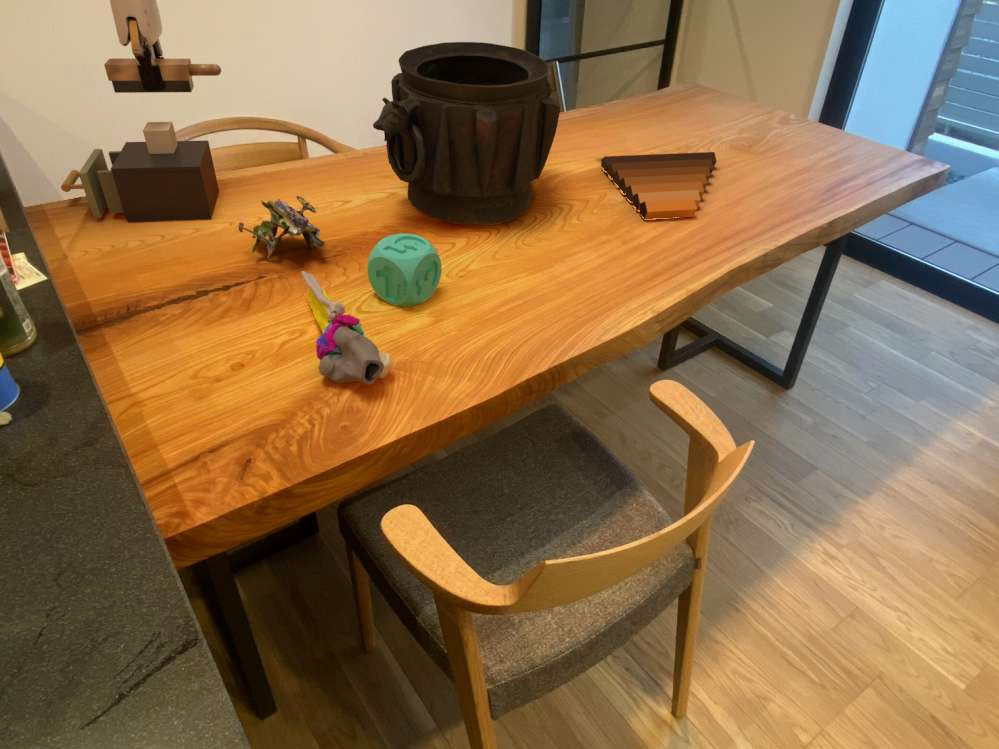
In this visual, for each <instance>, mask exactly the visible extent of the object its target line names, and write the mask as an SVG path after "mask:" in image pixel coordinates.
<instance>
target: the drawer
mask: <svg viewBox="0 0 999 749" xmlns="http://www.w3.org/2000/svg"><path fill="white" fill-rule="evenodd" d="M120 152H121V150H114V151H109V152H108V156H109V160H110V163H111V167H112V166H113V164H114V162H115V160H116V159H117V157H118V155H119V153H120ZM78 179H79V180H80V182H81V183H78V184H77V181H78ZM60 189H61V190H62V192H65V193H69V192H71V191H72V190H83V191H84V194H85V197H86V200H87V203H88V206H89V209H90V211H91V214H92V218H102V216H103V215H104V213H105V211H106V209H107V208H108V211H109V213H110V214H125V213H124V209H123V206H122V203H121V200H120V197H119V193H118V190H117V187H116V184H115V181H114V178H113V174H112V171H111V169H109V167H108V164H107V161H106V157H105V155H104V152H103V149H102V148H94V149H93V150H92V152H91V153H90V155H89V156H88V158H87V159H86V162H84V164H83V165H82V167H81V169H79V171H78V170H76V169H72V170H70V172H69V174H68V175H67V176H66V178H65V180H64V181H63V182H62V184H61V185H60Z"/></svg>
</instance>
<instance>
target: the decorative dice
mask: <svg viewBox="0 0 999 749" xmlns="http://www.w3.org/2000/svg"><path fill="white" fill-rule="evenodd" d="M442 267H443V266H442V260H441V257H440V255H439V253H438V251H437V249H436V248H435V246H434V245H433V244H432V243H431V242H430V241H429V240H427V239H426V238H424V237H423V236H421V235H418V234H413V233H395V234H391V235H388V236H385V237H382V239H380V240H379V241H378V242H377V243H376V244H375V245H374V247H373V248H372V251H371V252H370V255H369V257H368V261H367V267H366V268H367V270H366V272H367V277H368V282H369V285H370V286H371V288H372V289H373V291H374V292H375V293H376V295H377V296H378V297H379V298H381V300H382V301H384V302H386V303H388V304H389V305H392V306H395V307H414V306H417V305H420V304H423V303H425V302H426V301H428V300H429V299H430V298H431V297H432V295H433V294H434V293H435V291H436V290H437V287H438V286H439V284H440V280H441V276H442Z"/></svg>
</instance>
